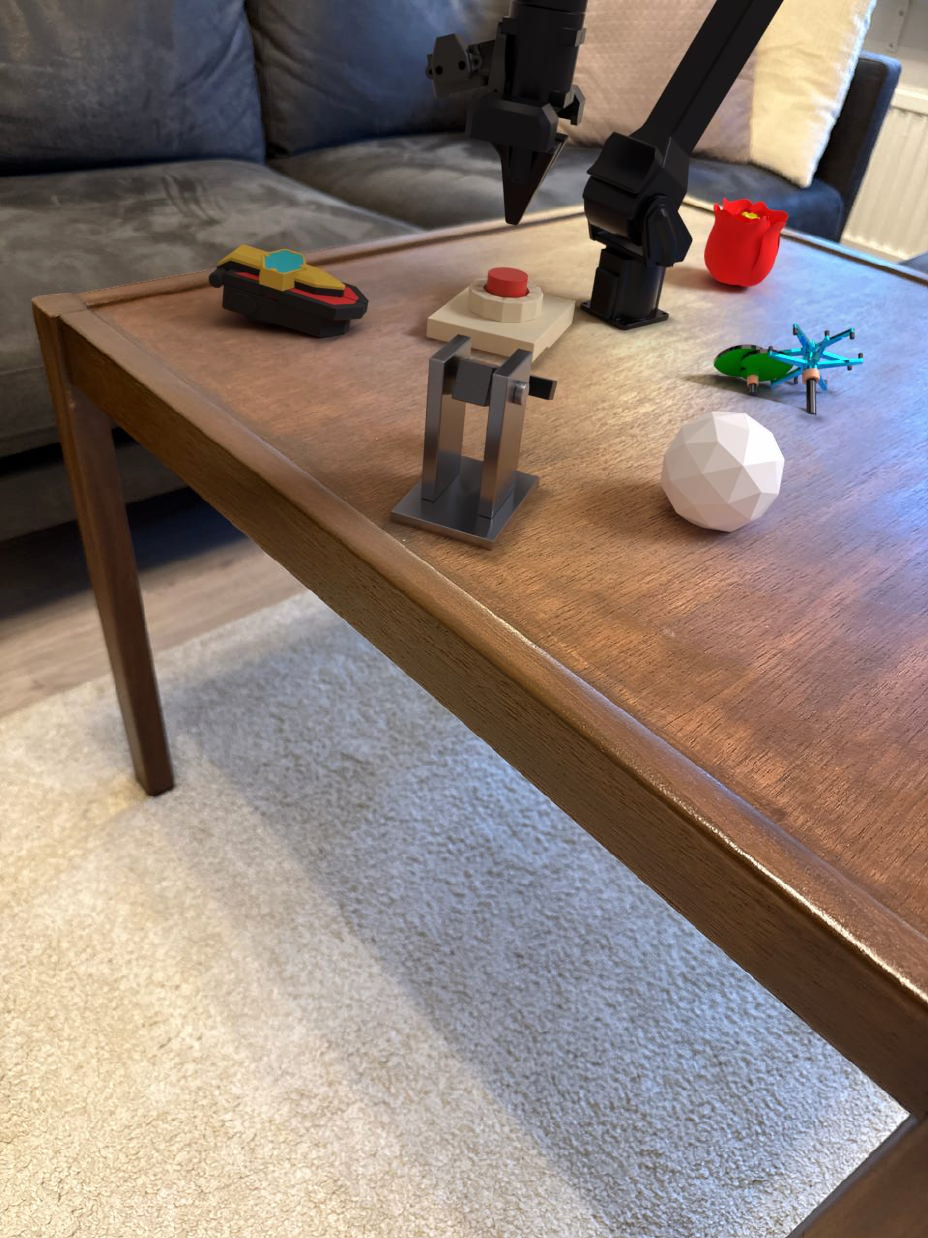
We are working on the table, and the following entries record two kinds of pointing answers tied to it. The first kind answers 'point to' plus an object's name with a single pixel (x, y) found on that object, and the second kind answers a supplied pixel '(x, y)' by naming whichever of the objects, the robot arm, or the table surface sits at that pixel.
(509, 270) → the button
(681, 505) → the geometric ball
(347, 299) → the gadget
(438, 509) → the grey metal stand
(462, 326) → the control box
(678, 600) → the table surface
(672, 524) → the table surface
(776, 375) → the stick construction toy
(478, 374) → the press lever
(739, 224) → the flower
